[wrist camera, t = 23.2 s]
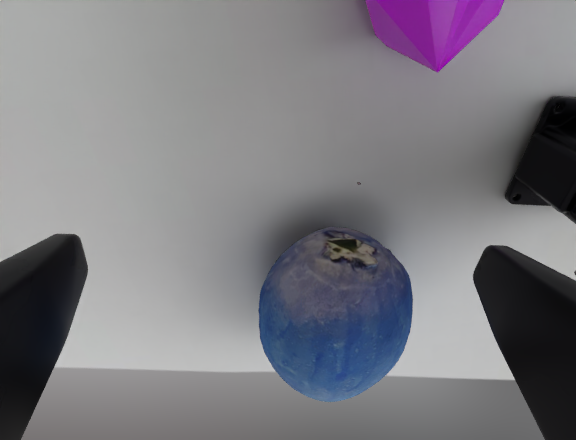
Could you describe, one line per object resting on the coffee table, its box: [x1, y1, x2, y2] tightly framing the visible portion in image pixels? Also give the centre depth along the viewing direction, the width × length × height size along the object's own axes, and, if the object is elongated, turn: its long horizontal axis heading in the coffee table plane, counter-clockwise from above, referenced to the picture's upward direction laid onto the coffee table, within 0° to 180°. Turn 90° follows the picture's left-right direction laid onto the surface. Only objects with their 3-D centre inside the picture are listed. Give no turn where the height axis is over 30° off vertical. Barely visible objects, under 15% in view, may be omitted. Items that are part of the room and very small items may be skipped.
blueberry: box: [259, 182, 413, 402], centre depth 22 cm, size 9×9×15 cm
